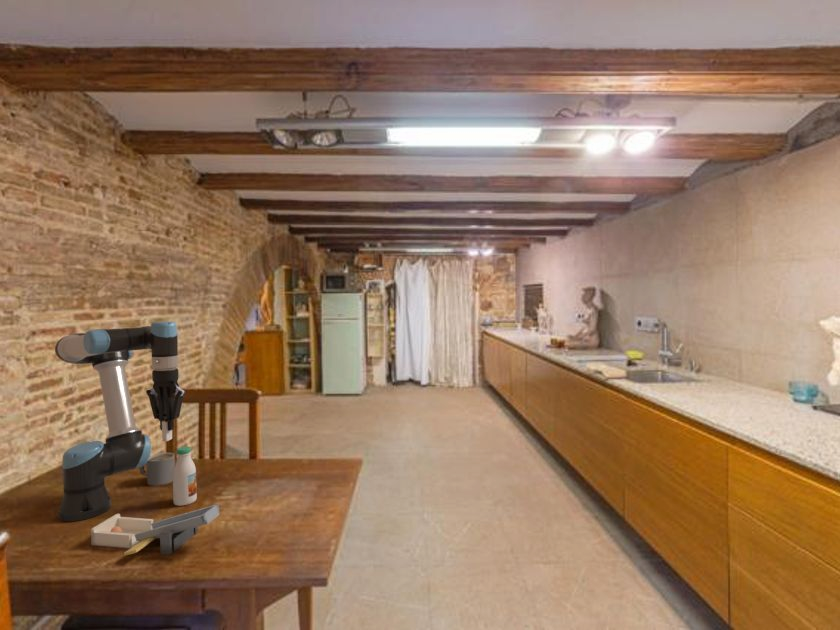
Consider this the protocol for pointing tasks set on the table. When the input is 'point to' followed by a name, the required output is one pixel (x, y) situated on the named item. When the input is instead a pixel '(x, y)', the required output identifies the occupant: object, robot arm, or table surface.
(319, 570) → the table surface
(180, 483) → the milk bottle
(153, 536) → the lever
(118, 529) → the ball
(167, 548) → the fulcrum
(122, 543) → the tray
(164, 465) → the coffee mug
